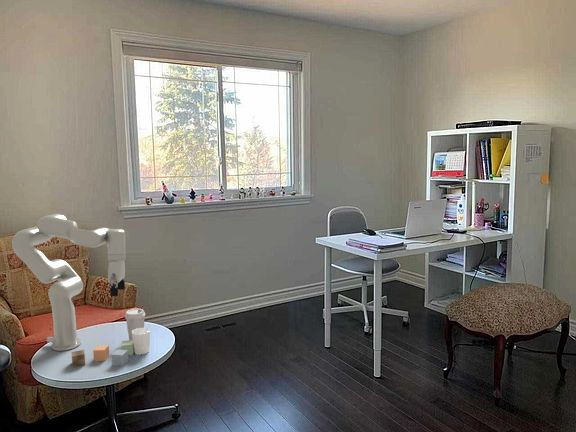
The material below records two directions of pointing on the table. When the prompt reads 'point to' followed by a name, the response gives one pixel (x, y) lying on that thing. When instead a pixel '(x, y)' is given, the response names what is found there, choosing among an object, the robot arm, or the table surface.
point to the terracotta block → (101, 352)
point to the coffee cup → (134, 320)
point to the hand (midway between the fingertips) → (117, 292)
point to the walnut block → (78, 358)
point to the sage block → (128, 346)
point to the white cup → (141, 340)
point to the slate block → (120, 357)
